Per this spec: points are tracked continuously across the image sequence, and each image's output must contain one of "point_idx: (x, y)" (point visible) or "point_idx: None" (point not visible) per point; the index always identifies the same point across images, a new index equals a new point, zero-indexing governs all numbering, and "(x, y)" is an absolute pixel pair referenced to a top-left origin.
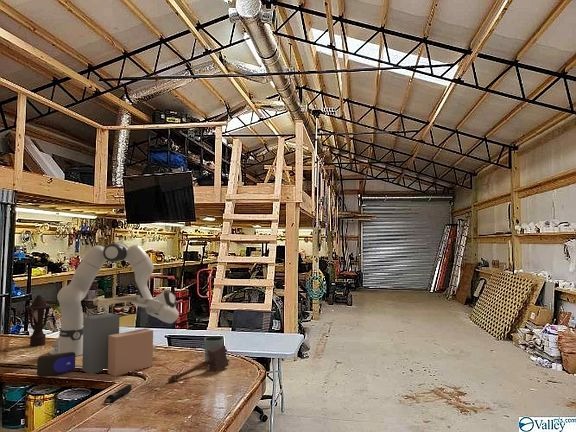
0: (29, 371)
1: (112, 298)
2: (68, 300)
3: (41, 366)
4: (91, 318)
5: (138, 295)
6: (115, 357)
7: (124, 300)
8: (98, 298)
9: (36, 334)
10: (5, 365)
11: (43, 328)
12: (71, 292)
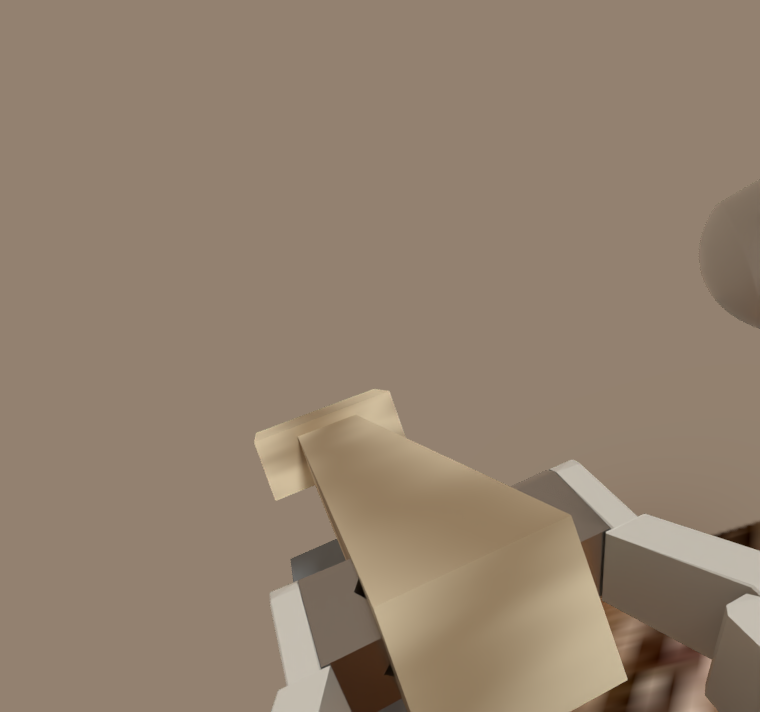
0: (611, 620)
1: (333, 436)
2: (722, 302)
3: None
4: (324, 548)
5: (433, 560)
6: None
7: (332, 524)
8: (357, 398)
9: None
10: (726, 532)
11: None
12: (715, 243)
